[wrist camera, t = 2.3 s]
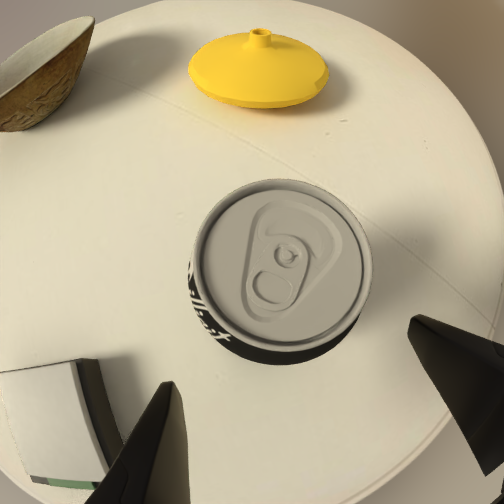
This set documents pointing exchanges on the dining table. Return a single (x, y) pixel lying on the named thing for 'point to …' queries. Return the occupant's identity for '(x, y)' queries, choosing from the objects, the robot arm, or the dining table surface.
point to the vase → (258, 70)
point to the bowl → (42, 74)
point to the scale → (62, 422)
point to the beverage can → (280, 271)
